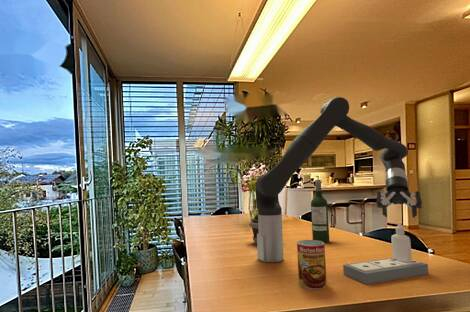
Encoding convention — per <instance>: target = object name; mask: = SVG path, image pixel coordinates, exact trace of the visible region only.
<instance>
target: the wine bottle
mask: <svg viewBox="0 0 470 312" xmlns="http://www.w3.org/2000/svg"><path fill="white" fill-rule="evenodd" d="M314 181H315V196H314V198H312V200H311V202H310V207H311V208H310V211H311V212H310V214H311V231H312V232H311V234H312V235H311V236H312V240H317V241H322V242H324V243H325V244H328V243H330V230H329V229H330V227H329V210H328V209H329V207H328V200H327V199H326V198H325V197H323V193H322V192H323V191H322V180H321V179H315V180H314Z"/></svg>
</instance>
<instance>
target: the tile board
mask: <svg viewBox="0 0 470 312" xmlns="http://www.w3.org/2000/svg"><path fill="white" fill-rule="evenodd" d="M342 269H343V275H344V276H347V277H348V278H351V279H354V280H356V281H357V282H360V283H362V284H365V285H370V284H376V283H377V284H378V283H383V282H389V281H393V280H401V279H406V278H411V277H417V276H423V275H425V276H426V275H429V264H428V263H425V262H422V261H419V260H415V259H412V261H411V262H401V261H397V260H394V259H393V257H390V258H382V259H376V260H370V261H369V260H368V261H361V262H354V263H348V264H347V263H346V264H342Z"/></svg>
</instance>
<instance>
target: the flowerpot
mask: <svg viewBox="0 0 470 312" xmlns="http://www.w3.org/2000/svg"><path fill="white" fill-rule="evenodd" d="M248 225H249V227H250V228H251V229H252V234H253V236H252V241H253V242H254V243H255V245H257V234H259V227H258V212H257V213H256V214H255V215H254V217H253V218H252V219H251V221H249V223H248Z"/></svg>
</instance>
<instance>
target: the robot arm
mask: <svg viewBox="0 0 470 312" xmlns="http://www.w3.org/2000/svg"><path fill="white" fill-rule="evenodd" d="M349 111H350V104H349V101H348V100H347V99H346V98H344V97H341V96H336V97H334V98H330V99H329V100H328V101H326V102H325V103H324V104H323V105H322V106H321V108H320V115H319V116H318V117H317V118H316V119H315V120H314V121H313V122H311V123H310V124H309V125H307V126H306V127H305V128H304V129H302V131H301V132H300V133H299V134H298V135H296V137H295V138H294V139H293V140H292V141H291V142H290V144H289V145H288V147H287V148H286V149H285V152H284V154H283V156H282V157H281V159H280V160H279V161H278V163H277V164H276V165H275V166H274V167H273V168H272V169H270V171H268V172H267V173H266V172H265V173H262V174H261V175H259V176H258V177H257V178H256V181H255V201H256V202H255V203H256V204H255V205H256V208H257V213H258V227H259V234H257V244H256V248H257V249H256V250H257V259H258V260H259V261H261V262H262V263H278V262H282V261H284V243H283V242H284V240H283V239H284V238H283V237H284V235H283V214H282V207H281V204H280V201H279V195H280V194H281V192H282V191H283V190H284V188H285V187H286V185H287V184H288V182H289V181H290V180H291V178H292V177H293V175H295V173H296V172H297V171H298V170H299V169H300V168H301V167H302V166H303V165H304V164H305V162H306V161H308V159H309V158H311V156H312V155H313V153H314V152H316V150H317V149H318V148H319V147H320V146H321V144H322V143H323V141H324V140H325V139H326V137H327V136H328V135H329V134H330V132H331V131H332V130H333V129H334V128H335V127H337V128H340V130H342V131H344V132H347V133H348V134H350V135H352V136H353V137H354V138H356V139H358V140H359V141H361V142H362V143H363V144H365V145H366V146H367V147H369V148H370V149H372V150H373V151H376V152H379V151H381V150H383V151H382V152H381V153H380V160H381V162H382V164H383V166H384V169H385V192H381V191H377V192H376V208H381V209H382V211H381V212H382V216H384V217H385V218H387V217H388V210H387V209H388V208H389V207H390V206H391V205H404V204H405V205H406V206H407V207H409V208H410V209H411V217H412V218H413V219H414V218H415V217H417V216H418V211H417V209H423V208H422V207H423V205H422V204H423V201H422V198H421V195H420V194H421V193H420V192H419V191H417V190H416V191H415V192H411V191H410V189H409V181H408V176H407V173H406V172H407V171H406V165H405V163H404V162H403V159H405V158H406V157H407V156H408V155H409V150H408V148H407V145H405V144H403V143H402V142H400V141H397V140H396V139H392V138H389V137H387V136H385V135H384V134H382V133H381V132H379V131H378V130H376V129H375V128H373V127H371V126H369V125H367V124H364V123H362V122H360V121H358V120H355V119H354V118H351V117H350V116H348V113H350V112H349ZM384 198H385V200H383V199H384ZM412 198H413V199H414V200H415V201H413V200H412ZM382 200H383V202H382Z"/></svg>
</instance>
